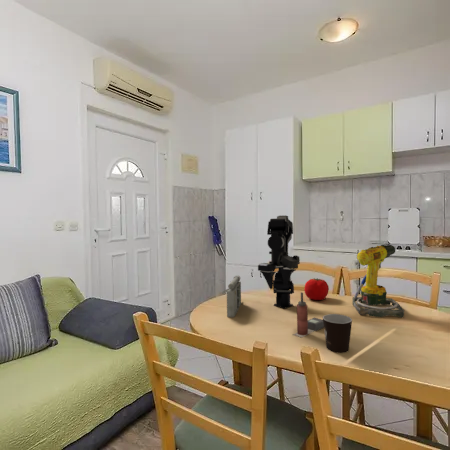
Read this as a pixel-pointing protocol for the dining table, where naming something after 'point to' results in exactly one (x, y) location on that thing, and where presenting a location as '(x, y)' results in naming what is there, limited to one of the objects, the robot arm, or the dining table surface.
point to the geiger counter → (233, 296)
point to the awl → (302, 317)
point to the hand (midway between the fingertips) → (278, 287)
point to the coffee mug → (337, 332)
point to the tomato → (316, 289)
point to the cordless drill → (375, 285)
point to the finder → (315, 324)
